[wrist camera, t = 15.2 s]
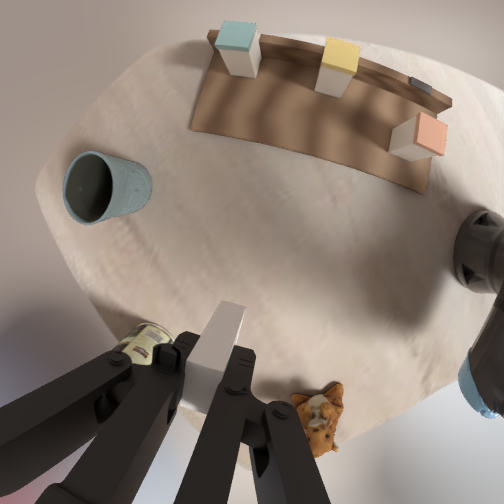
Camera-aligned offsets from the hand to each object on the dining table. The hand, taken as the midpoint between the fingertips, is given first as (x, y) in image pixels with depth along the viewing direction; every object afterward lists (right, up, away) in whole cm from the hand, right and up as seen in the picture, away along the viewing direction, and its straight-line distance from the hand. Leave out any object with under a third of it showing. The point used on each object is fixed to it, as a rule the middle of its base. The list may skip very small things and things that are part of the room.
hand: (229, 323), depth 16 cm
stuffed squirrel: (+15, -27, +31) cm, 44 cm away
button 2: (+1, +33, +19) cm, 38 cm away
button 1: (+24, +21, +19) cm, 37 cm away
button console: (+12, +26, +20) cm, 35 cm away
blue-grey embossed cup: (-19, +15, +26) cm, 36 cm away
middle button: (+13, +30, +19) cm, 37 cm away
